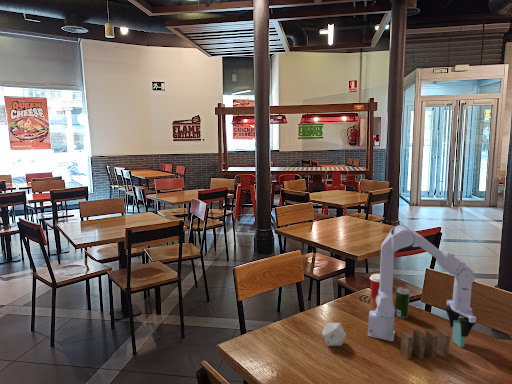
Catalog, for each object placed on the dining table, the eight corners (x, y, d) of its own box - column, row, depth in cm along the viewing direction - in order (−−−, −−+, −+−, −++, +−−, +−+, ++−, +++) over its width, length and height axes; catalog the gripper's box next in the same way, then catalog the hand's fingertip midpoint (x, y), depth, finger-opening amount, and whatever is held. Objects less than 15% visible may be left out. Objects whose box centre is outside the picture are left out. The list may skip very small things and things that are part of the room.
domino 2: (419, 358, 127) (420, 337, 126) (412, 350, 132) (413, 329, 131) (423, 358, 127) (425, 337, 126) (416, 350, 132) (417, 329, 131)
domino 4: (444, 357, 127) (445, 336, 126) (436, 349, 132) (437, 328, 131) (448, 357, 127) (450, 336, 126) (440, 349, 132) (441, 328, 131)
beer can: (404, 319, 154) (406, 293, 152) (392, 315, 158) (394, 289, 156) (410, 315, 158) (411, 289, 156) (398, 311, 162) (399, 286, 160)
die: (317, 342, 138) (320, 331, 131) (328, 324, 143) (331, 313, 136) (336, 355, 135) (340, 345, 128) (346, 336, 140) (351, 326, 133)
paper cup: (386, 302, 170) (387, 274, 168) (386, 309, 163) (387, 280, 161) (368, 300, 173) (370, 272, 171) (368, 307, 166) (369, 278, 164)
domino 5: (460, 347, 134) (461, 326, 133) (451, 339, 139) (453, 320, 137) (464, 347, 134) (465, 326, 133) (455, 339, 139) (457, 320, 138)
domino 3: (431, 357, 127) (433, 336, 126) (424, 349, 132) (425, 329, 131) (436, 357, 127) (437, 336, 126) (428, 349, 132) (429, 329, 131)
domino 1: (406, 358, 127) (408, 337, 125) (400, 350, 132) (401, 330, 130) (411, 358, 127) (412, 337, 126) (404, 350, 132) (405, 330, 130)
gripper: (485, 305, 127) (482, 341, 129) (459, 288, 141) (457, 321, 143) (466, 306, 126) (463, 342, 128) (442, 289, 141) (440, 322, 142)
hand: (458, 331), depth 136 cm, fingers open, 6 cm apart
